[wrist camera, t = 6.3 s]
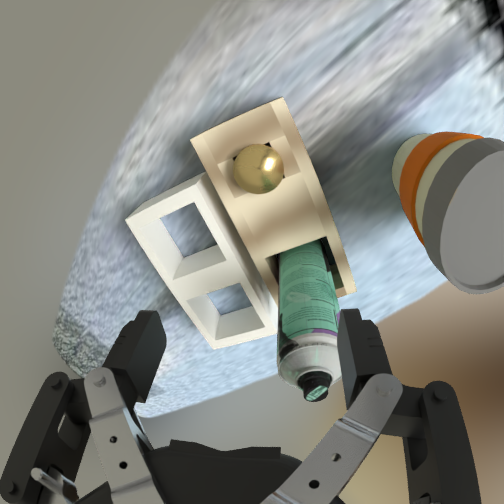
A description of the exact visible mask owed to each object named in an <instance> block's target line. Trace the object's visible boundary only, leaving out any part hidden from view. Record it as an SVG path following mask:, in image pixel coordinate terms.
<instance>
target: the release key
mask: <svg viewBox="0 0 504 504" xmlns="http://www.w3.org/2000/svg"><path fill="white" fill-rule="evenodd" d="M283 174H284V165H283V160H282V158H281V156H280V155H279V153H278V152H277V151H276V150H275V149H274V148H272V147H271V145H270V142H268V143H265V144H252V145H249V146H247V147H245V148H244V149H243V150H241V151H240V153H239V154H238V156H237V157H236V159H235V161H234V164H233V175H234V178H235V180H236V182H237V184H238V185H239V186H240V187H241V188H242V189H244V190H245V191H247V192H249V193H252V194H265V193H268V192H271V191H272V190H274V189H275V188H276V187H277V186H278V185H279V184H280V182H281V181H282V178H283Z"/></svg>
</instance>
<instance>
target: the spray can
mask: <svg viewBox="0 0 504 504" xmlns="http://www.w3.org/2000/svg"><path fill="white" fill-rule="evenodd" d="M339 318H340V309H339V304H338V300H337V296H336V291H335V287H334V283H333V279H332V274H331V270H330V266H329V262H328V258H327V254H326V251H325V247H324V244H323V242H322V240H321V239H320V238H319V239H317V240H314V241H311V242H308V243H305V244H303V245H300V246H297V247H294V248H291V249H289V250H286V251H283V252H280V253H279V287H278V334H277V366H278V373H279V376H280V378H281V379H282V380H283V381H284V382H285V383H287V384H288V385H291V386H293V387H296V388H299V389H300V390H303V392H304V398H305V399H306V400H307V401H311V402H317V401H321V400H323V399H325V398H326V397H327V395H328V388H329V387H330V386H331V385H332V384H334V383H336V382H337V381H339V380H340V379H341V378H342V374H341V367H340V361H339V355H338V349H337V333H338V326H339Z"/></svg>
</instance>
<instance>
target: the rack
mask: <svg viewBox="0 0 504 504" xmlns="http://www.w3.org/2000/svg"><path fill="white" fill-rule="evenodd" d="M193 202H195V204H196V206H197V208H198V210H199V211H200V213H201V215H202V217H203V219H204V220H205V222H206V224H207V226H208V228H209V229H210V231H211V233H212V235H213V237H214V238H215V240H216V242H217V244H218V245H215V246H212V247H210V248H207V249H205V250H202V251H200V252H197V253H195V254H192V255H189V256H187V257H183V256H182V254H181V252H180V251H179V249H178V247H177V246H176V244H175V243H174V241H173V239H172V238H171V236H170V234H169V233H168V231H167V229H166V228H165V226H164V224H163V223H162V221H161V219H160V218H161V217H163V216H165V215H167V214H169V213H171V212H173V211H176V210H178V209H180V208H182V207H184V206H186V205H188V204H190V203H193ZM125 221H126V223H127V224H128V226H129V228H130V229H131V231H132V232H133V234H134V236H135V237H136V239H137V240H138V242H139V244H140V245H141V247H142V248H143V250H144V251H145V253H146V255H147V256H148V258H149V259H150V261H151V262H152V264H153V265H154V267H155V268H156V270H157V271H158V273H159V274H160V276H161V277H162V279H163V280H164V282H165V283H166V285H167V286H168V288H169V289H170V290H171V292H172V293H173V295H174V296H175V298H176V299H177V300H178V302H179V303H180V305H181V306H182V308H183V309H184V310H185V312H186V313H187V315H188V316H189V317H190V319H191V320H192V321H193V323H194V324H195V326H196V327H197V328H198V330H199V331H200V332H201V334H202V335H203V336H204V338H205V339H206V340H207V342H208V343H209V344H210V346H211V347H212V348H213V350H215V349H219V348H223V347H227V346H231V345H235V344H239V343H243V342H247V341H251V340H255V339H259V338H263V337H266V336H270V335H274V334H277V333H278V307H277V305H276V303H275V301H274V299H273V298H272V296H271V294H270V292H269V290H268V288H267V286H266V284H265V282H264V280H263V279H262V277H261V275H260V273H259V271H258V269H257V267H256V265H255V263H254V261H253V259H252V258H251V256H250V254H249V252H248V250H247V248H246V246H245V244H244V242H243V240H242V238H241V237H240V235H239V233H238V231H237V229H236V227H235V225H234V223H233V221H232V219H231V217H230V215H229V214H228V212H227V210H226V208H225V206H224V204H223V202H222V200H221V198H220V196H219V194H218V192H217V191H216V189H215V187H214V185H213V183H212V181H211V179H210V177H209V175H208V173H207V171H205V172H203V173H201V174H199V175H197V176H195V177H193V178H191V179H189V180H187V181H185V182H183V183H181V184H179V185H177V186H175V187H173V188H171V189H169V190H167V191H165V192H163V193H161V194H159V195H157V196H155V197H153V198H151V199H150V200H148V201H146V202H144V203H142V204H141V205H140V206H139V207H138V208H137V209H136V210H135V211H134V212H133V213H132V214H131V215H130V216H129V217H128V218H127V219H126V220H125ZM237 283H240V284H241V286H242V288H243V289H244V291H245V293H246V295H247V296H248V298H249V300H250V302H251V303H252V305H253V306H250V307H247V308H244V309H240V310H237V311H234V312H230V313H227V314H223V315H220V313H219V312H218V310H217V309H216V307H215V306H214V304H213V303H212V301H211V300H210V298H209V297H208V295H207V293H210V292H213V291H216V290H219V289H222V288H225V287H228V286H231V285H234V284H237Z"/></svg>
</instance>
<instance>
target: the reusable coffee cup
mask: <svg viewBox="0 0 504 504" xmlns="http://www.w3.org/2000/svg"><path fill="white" fill-rule="evenodd" d="M392 180H393V184H394V187H395V190H396V191H397V193H398V195H399V197H400V201H401V204H402V208H403V210H404V212H405V214H406V216H407V218H408V220H409V222H410V223H411V225H412V227H413V229H414V231H415V233H416V235H417V237H418V239H419V240H420V242H421V243H422V244H423V246H424V247H425V249H426V251H427V254H428V256H429V258H430V260H431V261H432V262H433V264H434V265H435V266H436V268H437V269H438V270H439V271H440V272H441V273H442V274H443V275H444V276H445V277H446V278H447V279H448V280H449V281H450V282H451V283H452V284H453V285H454V286H456V287H457V288H458V289H459V290H461V291H464V292H467V293H471V294H483V293H489V292H492V291H494V290H497V289H499V288H501V287H503V286H504V142H503V141H501V140H499V139H494V138H484V137H482V136H479V135H473V134H466V133H456V132H439V133H435V134H419V135H416V136H413V137H411V138H410V139H408V140H407V141H405V142H404V143H403V144H402V145H401V147H400V148H399V150H398V151H397V153H396V155H395V158H394V161H393V165H392Z"/></svg>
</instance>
